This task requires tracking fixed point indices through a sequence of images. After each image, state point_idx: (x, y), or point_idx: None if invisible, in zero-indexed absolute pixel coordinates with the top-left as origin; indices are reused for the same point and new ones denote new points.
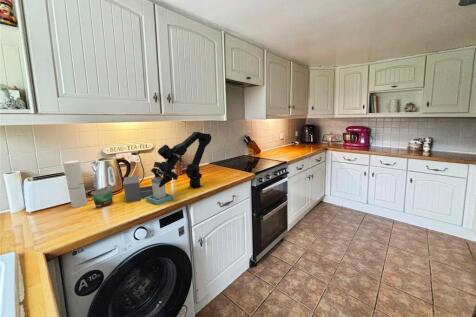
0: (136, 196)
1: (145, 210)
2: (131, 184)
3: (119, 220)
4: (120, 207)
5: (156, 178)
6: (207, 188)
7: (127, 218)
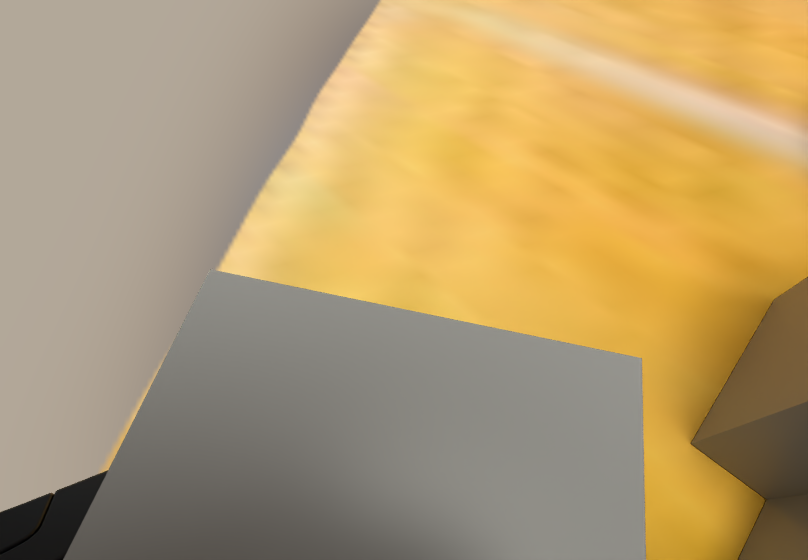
0: (764, 376)
1: (346, 221)
2: None
3: (416, 51)
4: (681, 197)
5: (420, 511)
6: None
7: (382, 82)
